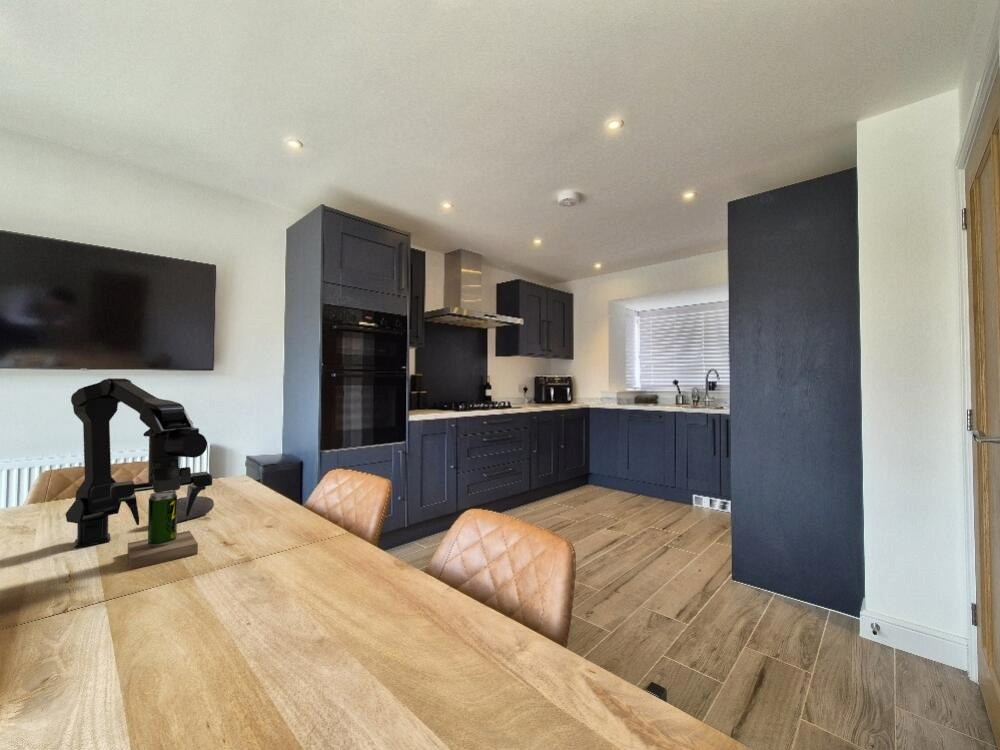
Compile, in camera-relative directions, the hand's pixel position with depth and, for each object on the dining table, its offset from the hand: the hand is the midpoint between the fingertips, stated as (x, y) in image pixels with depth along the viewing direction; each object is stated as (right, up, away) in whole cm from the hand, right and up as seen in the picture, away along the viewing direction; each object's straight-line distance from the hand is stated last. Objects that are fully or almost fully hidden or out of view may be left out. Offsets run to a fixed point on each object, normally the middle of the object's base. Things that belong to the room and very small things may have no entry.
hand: (163, 520), depth 100 cm
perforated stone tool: (-13, -9, +25) cm, 29 cm away
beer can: (0, -6, 0) cm, 6 cm away
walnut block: (0, -8, 0) cm, 8 cm away
